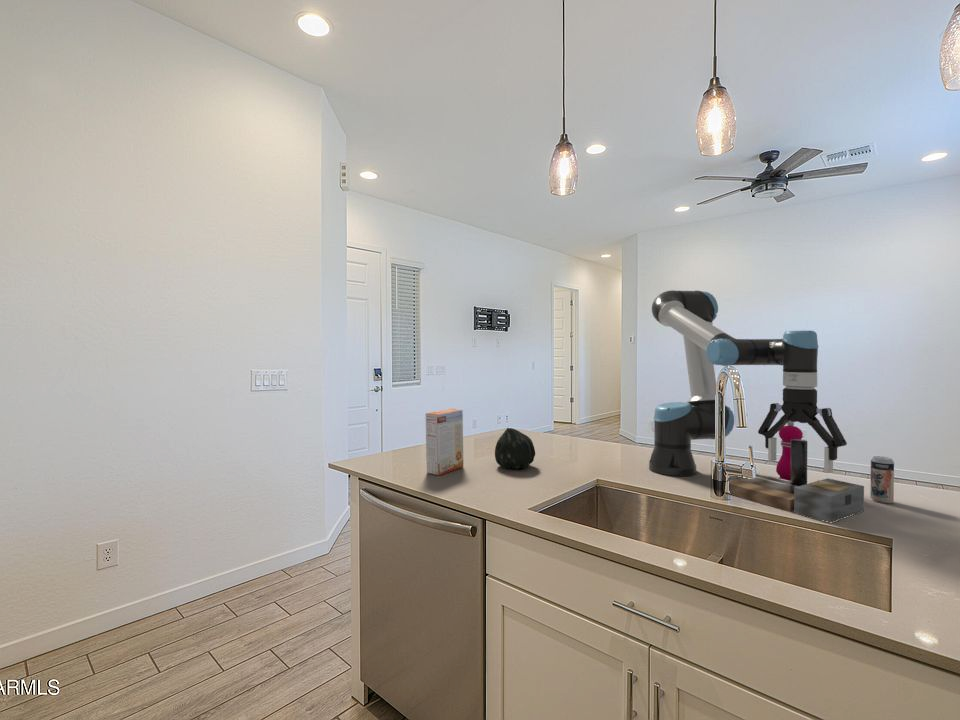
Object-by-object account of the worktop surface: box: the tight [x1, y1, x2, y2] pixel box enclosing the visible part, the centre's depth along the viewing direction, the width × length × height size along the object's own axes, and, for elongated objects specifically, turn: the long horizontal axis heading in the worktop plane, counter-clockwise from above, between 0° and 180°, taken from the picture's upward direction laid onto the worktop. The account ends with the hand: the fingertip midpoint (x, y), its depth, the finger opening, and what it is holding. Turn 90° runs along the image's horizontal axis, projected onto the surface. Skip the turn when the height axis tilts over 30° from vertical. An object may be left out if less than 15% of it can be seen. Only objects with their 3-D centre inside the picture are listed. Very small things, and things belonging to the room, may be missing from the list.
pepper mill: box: [775, 421, 804, 481], centre depth 135 cm, size 7×7×20 cm
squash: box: [494, 427, 536, 470], centre depth 158 cm, size 14×15×15 cm
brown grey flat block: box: [728, 472, 865, 522], centre depth 121 cm, size 27×17×7 cm, turn 28°
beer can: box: [869, 455, 895, 505], centre depth 120 cm, size 5×5×12 cm
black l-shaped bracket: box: [784, 439, 808, 492], centre depth 116 cm, size 12×4×14 cm, turn 28°
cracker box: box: [425, 408, 464, 476], centre depth 154 cm, size 14×6×21 cm, turn 144°
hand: (799, 466), depth 119 cm, fingers open, 13 cm apart
